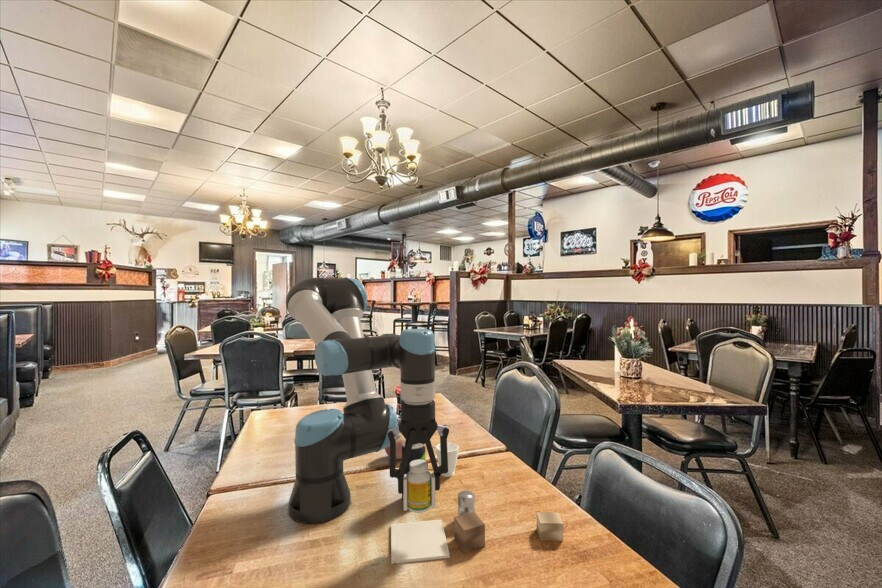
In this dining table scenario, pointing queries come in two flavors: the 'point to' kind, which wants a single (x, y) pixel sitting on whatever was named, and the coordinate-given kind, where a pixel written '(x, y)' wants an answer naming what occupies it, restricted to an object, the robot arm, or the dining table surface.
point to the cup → (452, 457)
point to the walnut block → (469, 532)
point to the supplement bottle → (418, 487)
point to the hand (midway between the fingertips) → (419, 505)
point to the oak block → (549, 526)
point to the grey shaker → (466, 502)
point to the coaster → (418, 541)
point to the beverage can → (415, 455)
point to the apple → (397, 446)
